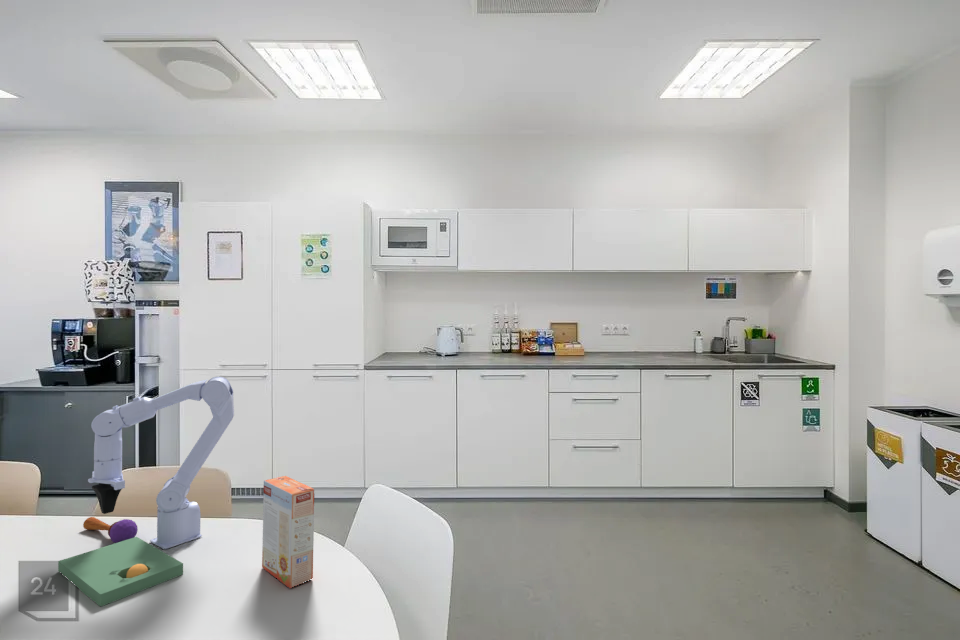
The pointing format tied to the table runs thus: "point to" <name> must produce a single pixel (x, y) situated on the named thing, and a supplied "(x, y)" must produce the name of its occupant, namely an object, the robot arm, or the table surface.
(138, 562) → the putting mat
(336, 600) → the table surface
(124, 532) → the kendama
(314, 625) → the table surface
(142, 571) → the ball
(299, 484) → the cracker box
